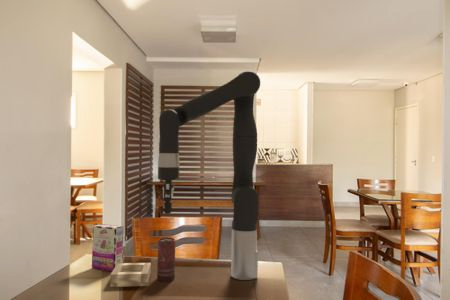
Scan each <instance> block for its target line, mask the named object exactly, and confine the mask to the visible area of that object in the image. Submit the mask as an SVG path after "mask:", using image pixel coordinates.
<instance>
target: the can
mask: <svg viewBox="0 0 450 300" xmlns="http://www.w3.org/2000/svg"><path fill="white" fill-rule="evenodd" d="M156 273H157V276H156V278H157V280H158V281H159V282H165V283H167V282H168V283H169V282H172V281H173V280H174V279H175V273H176V240H175V238H172V237H163V238H162V237H161V238H160V239H158V242H157V269H156Z"/></svg>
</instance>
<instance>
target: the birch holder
mask: <svg viewBox="0 0 450 300" xmlns="http://www.w3.org/2000/svg"><path fill="white" fill-rule="evenodd" d="M151 263H152V262H126V263H125V262H123V263H117V265H116V267H115V268H114V270H113V271H112V272H110V281H109V287H110V288H113V287H114V288H115V287H117V288H118V287H121V288H122V287H148V285H149V280H150V278H151V274H152V273H151V272H152V271H151V270H152V267H151V266H152V264H151Z"/></svg>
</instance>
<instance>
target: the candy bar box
mask: <svg viewBox="0 0 450 300" xmlns="http://www.w3.org/2000/svg"><path fill="white" fill-rule="evenodd" d="M124 227H125V226H123V225H115V224H103V223H101V224H100V223H99V224H96V225H93V226H92V249H91V250H92V253H91V254H92V256H91V269H95V270H100V271H106V272H110V273H112V271H113V270H114V268H115V267H116V265H117V263H124V262H123V258H124V257H123V256H124V255H123V253H124Z"/></svg>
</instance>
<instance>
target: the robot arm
mask: <svg viewBox="0 0 450 300" xmlns="http://www.w3.org/2000/svg"><path fill="white" fill-rule="evenodd" d="M260 87H261V78H260V77H259V75H258V74H257V73H256V72H254V71H251V70H247V71H243V72H241V73H239V74H238V75H237V76H236V77H234V78H233V79H230V80H229V81H228V82H226V83H224V84H222V85H221V86H219V87H217V88H215V89H213V90H211V91H208V92H206V93H205V92H204V93H203V94H201V95H197V96H196V97H194V98H191V99H190V100H188V101H186V102H183V103H182V104H181V105H179V106H178V107H174V109H170V108H169V109H166V110H163V111H162V112H161V113H160V115H159V121H158V122H159V123H158V124H159V141H158V142H159V143H158V159H157V178H158V180H162V181H164V183H163V184H162V197H163V203H164V205H163V206H164V207H163V210H164V211H163V212H164V214H167V215H170V214H171V213H172V209H173V208H172V207H173V205H172V204H173V202H172V201H173V198H174V190H175V184H174V183H173V181H174V180H175V181H177V180H179V179H180V154H179V153H180V142H179V132H180V127H182V126H183V125H186V124H187V123H189V122H191V121H194V120H196V119H199V118H201V117H204V116H205V115H207V114H209V113H211V112H213V111H214V110H216V109H218V108H219V107H221V106H223V105H225V104H227V103H230V102H232V101H233V104H234V105H233V108H234V115H233V123H232V125H233V126H232V128H233V129H232V161H233V162H232V163H233V180H232V188H231V189H232V190H231V201H232V204H233V219H232V221H231V259H230V260H231V263H230V265H231V267H230V268H231V269H230V276H231V278H233V279H236V280H240V281H250V280H254V279H258V273H259V272H258V271H259V270H258V267H259V264H258V263H259V259H258V258H259V256H258V255H259V252H258V250H257V243H258V242H257V241H258V239H257V235H258V223H259V215H260V214H259V212H260V196H259V193H258V191H257V190H256V189H255V188H254V180H253V179H254V178H253V177H254V176H253V173H254V167H255V162H256V158H257V153H258V131H257V129H258V128H257V125H256V121H255V116H254V101H255V95H256V94H257V92H258V91H259V90H260Z"/></svg>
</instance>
